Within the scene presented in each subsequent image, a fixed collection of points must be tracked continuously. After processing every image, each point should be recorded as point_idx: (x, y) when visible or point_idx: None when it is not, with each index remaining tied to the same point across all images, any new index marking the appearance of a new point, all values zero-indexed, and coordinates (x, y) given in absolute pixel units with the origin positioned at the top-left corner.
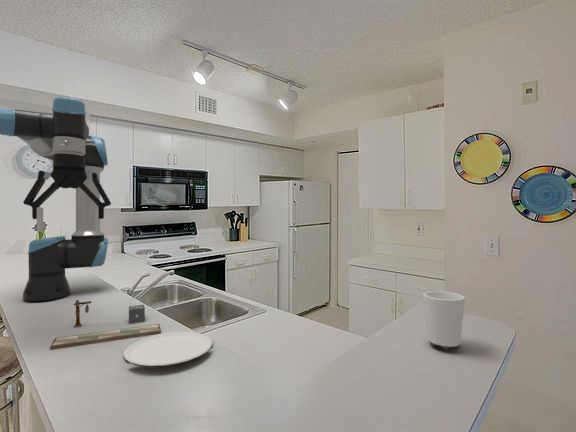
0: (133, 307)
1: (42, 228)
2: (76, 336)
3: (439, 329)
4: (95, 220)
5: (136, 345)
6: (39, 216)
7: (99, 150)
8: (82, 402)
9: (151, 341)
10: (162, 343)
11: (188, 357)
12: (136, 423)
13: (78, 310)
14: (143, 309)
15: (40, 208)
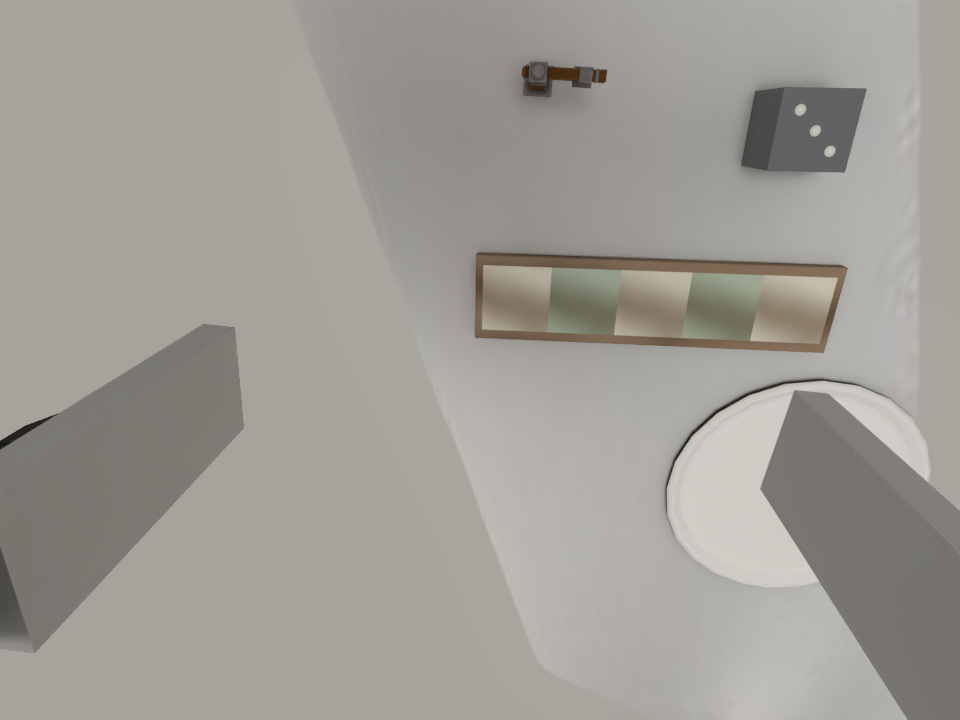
0: (799, 129)
1: (220, 368)
2: (544, 277)
3: None
4: (821, 577)
5: (713, 430)
6: (134, 537)
7: None
8: (573, 627)
9: (763, 411)
10: None
11: None
12: (646, 708)
13: (543, 83)
14: (835, 171)
15: (43, 618)
